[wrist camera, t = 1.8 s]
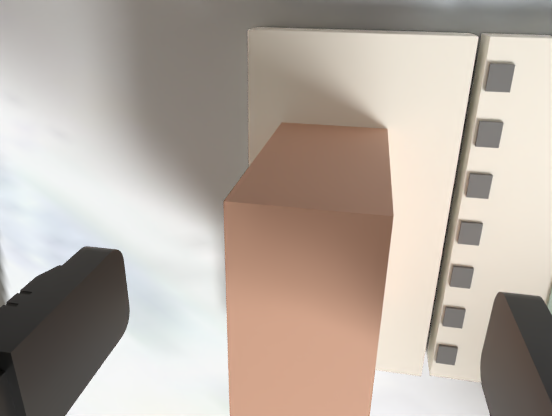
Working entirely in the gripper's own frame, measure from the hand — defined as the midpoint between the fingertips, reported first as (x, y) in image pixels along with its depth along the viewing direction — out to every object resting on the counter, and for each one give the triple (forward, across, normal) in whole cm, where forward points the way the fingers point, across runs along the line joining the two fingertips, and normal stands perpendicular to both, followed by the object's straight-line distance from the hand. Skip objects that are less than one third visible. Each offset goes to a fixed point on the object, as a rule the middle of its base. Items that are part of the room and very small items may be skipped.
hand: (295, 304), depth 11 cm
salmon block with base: (+6, -1, 0) cm, 6 cm away
